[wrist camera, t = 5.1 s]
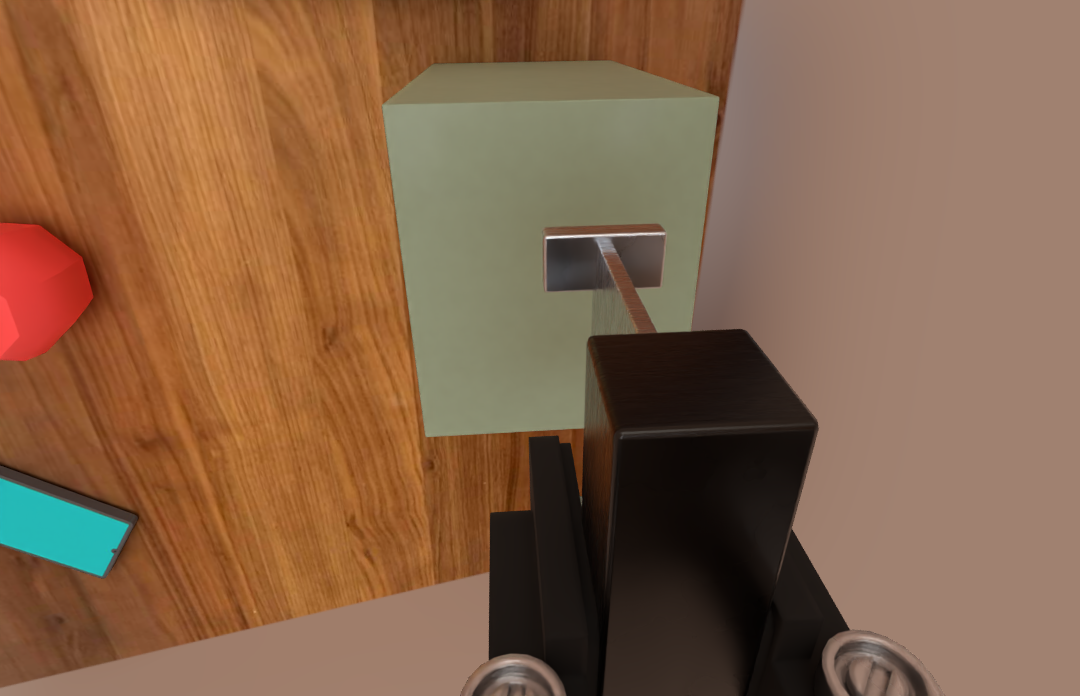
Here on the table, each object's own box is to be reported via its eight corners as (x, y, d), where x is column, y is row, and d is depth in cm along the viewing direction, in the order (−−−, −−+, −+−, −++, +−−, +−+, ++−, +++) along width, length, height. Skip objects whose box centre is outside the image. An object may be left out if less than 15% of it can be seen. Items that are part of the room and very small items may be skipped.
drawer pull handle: (661, 207, 12) (844, 422, 6) (632, 532, 16) (717, 853, 10) (541, 211, 12) (593, 434, 6) (545, 538, 16) (575, 865, 10)
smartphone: (-95, 441, 41) (133, 523, 46) (-84, 433, 41) (139, 515, 46) (-114, 509, 43) (104, 580, 48) (-103, 501, 44) (110, 572, 49)
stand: (611, 60, 34) (720, 96, 18) (603, 261, 39) (680, 423, 24) (432, 63, 33) (381, 104, 17) (451, 267, 39) (425, 437, 23)
